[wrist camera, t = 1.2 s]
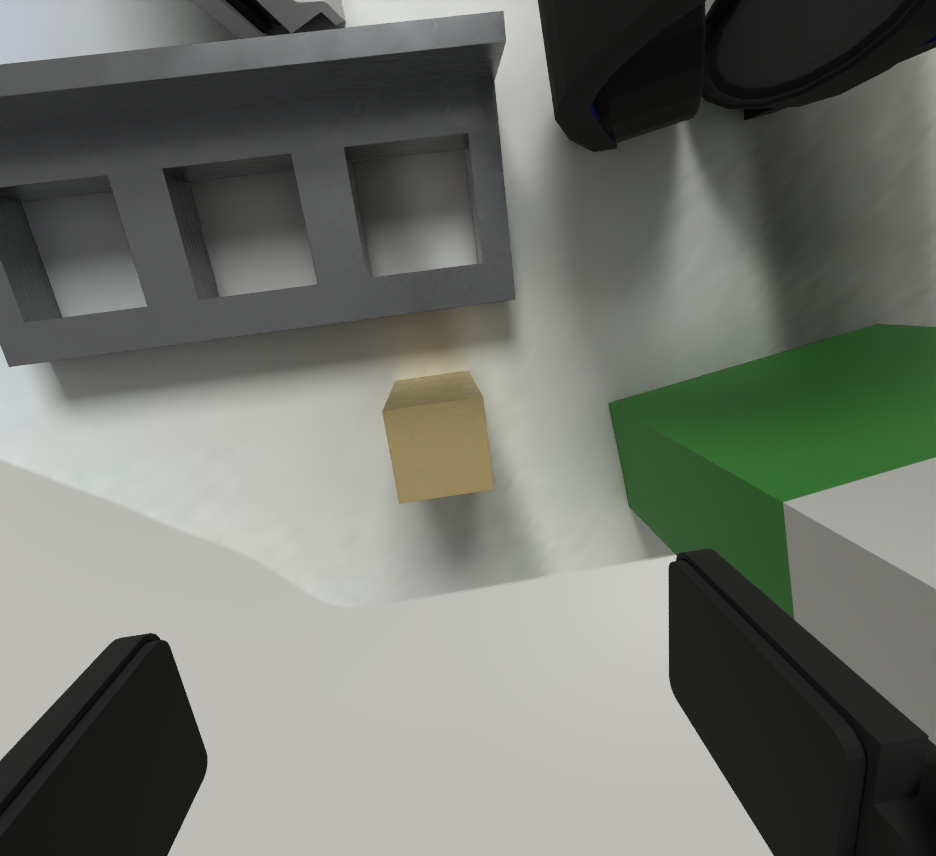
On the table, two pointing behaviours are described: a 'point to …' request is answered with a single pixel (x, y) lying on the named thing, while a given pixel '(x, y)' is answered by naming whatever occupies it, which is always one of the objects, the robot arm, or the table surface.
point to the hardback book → (810, 492)
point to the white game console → (269, 14)
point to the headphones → (715, 57)
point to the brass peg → (438, 437)
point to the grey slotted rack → (246, 172)
